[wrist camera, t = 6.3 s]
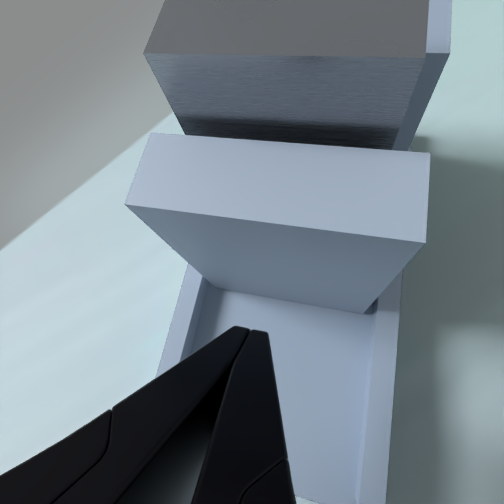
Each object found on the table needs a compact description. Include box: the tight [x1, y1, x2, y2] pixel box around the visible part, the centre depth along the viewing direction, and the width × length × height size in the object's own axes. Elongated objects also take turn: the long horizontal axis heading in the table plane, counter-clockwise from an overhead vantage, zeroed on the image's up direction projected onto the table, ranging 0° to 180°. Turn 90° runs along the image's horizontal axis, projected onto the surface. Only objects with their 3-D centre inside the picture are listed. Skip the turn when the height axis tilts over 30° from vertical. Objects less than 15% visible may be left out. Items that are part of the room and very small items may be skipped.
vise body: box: [156, 0, 452, 504], centre depth 12 cm, size 17×9×8 cm, turn 168°
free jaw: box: [124, 133, 431, 314], centre depth 11 cm, size 2×6×8 cm, turn 78°
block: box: [143, 0, 429, 150], centre depth 11 cm, size 4×5×10 cm
